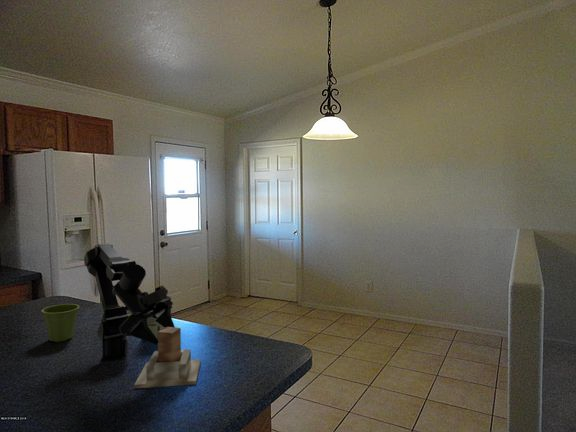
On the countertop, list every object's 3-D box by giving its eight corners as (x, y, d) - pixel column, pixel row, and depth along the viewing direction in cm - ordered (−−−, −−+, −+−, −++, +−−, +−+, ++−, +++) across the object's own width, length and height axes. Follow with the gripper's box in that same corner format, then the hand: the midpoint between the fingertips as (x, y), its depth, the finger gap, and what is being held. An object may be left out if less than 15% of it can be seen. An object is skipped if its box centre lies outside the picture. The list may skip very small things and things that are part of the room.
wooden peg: (158, 373, 106) (157, 331, 106) (167, 366, 111) (166, 326, 110) (172, 375, 105) (172, 333, 105) (181, 368, 110) (180, 327, 109)
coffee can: (150, 331, 144) (149, 295, 143) (176, 332, 143) (175, 295, 142) (136, 341, 134) (135, 302, 133) (164, 342, 133) (163, 303, 132)
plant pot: (50, 347, 128) (49, 315, 128) (36, 339, 135) (35, 309, 135) (86, 337, 138) (85, 307, 137) (71, 330, 145) (70, 302, 144)
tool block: (134, 388, 100) (134, 369, 100) (146, 365, 114) (146, 349, 114) (195, 384, 102) (195, 366, 102) (200, 362, 116) (200, 346, 116)
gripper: (128, 286, 99) (166, 330, 97) (167, 273, 117) (199, 310, 115) (103, 313, 102) (140, 357, 99) (145, 296, 120) (176, 333, 118)
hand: (166, 337), depth 108 cm, fingers open, 9 cm apart
